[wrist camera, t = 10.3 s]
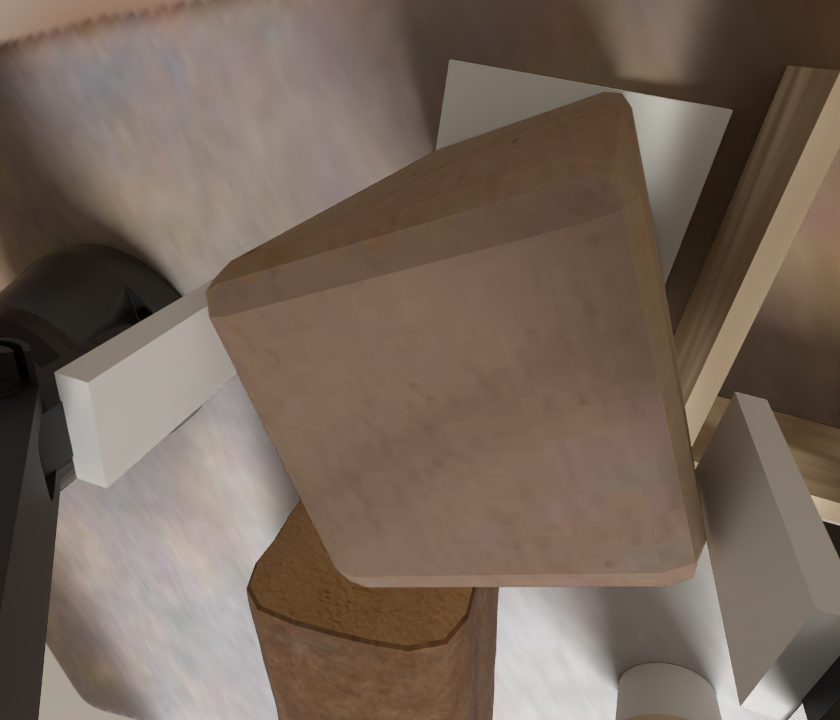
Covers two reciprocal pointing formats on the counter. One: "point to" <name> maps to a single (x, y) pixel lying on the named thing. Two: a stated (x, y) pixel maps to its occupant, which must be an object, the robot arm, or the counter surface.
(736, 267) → the birch frame
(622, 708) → the coffee cup
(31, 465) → the robot arm
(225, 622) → the counter surface
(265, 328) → the wooden block
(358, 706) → the bread
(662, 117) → the grey mat
